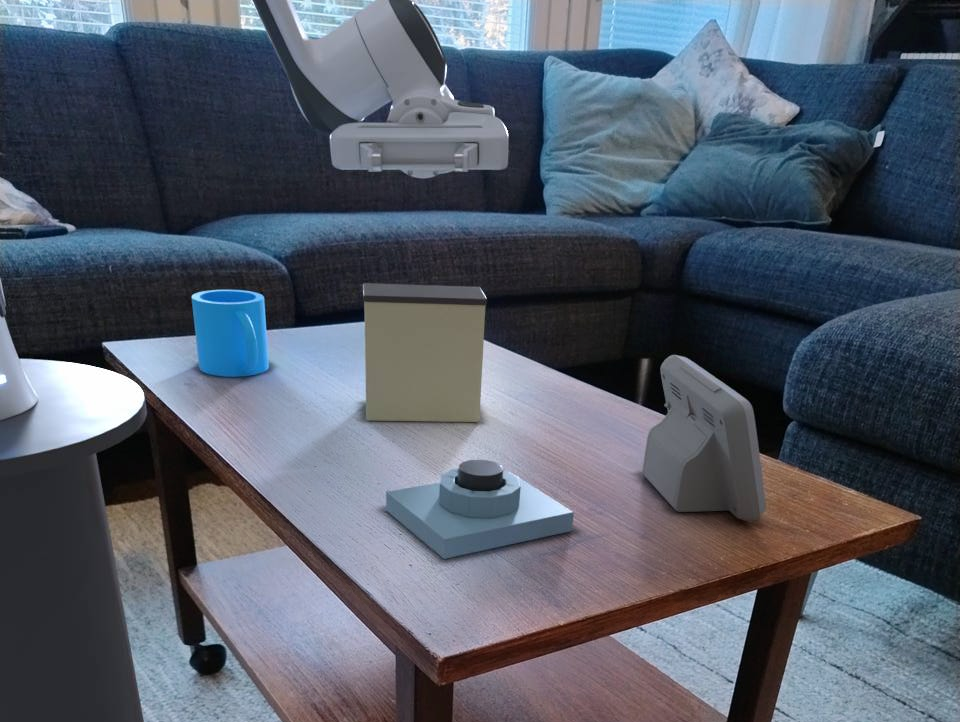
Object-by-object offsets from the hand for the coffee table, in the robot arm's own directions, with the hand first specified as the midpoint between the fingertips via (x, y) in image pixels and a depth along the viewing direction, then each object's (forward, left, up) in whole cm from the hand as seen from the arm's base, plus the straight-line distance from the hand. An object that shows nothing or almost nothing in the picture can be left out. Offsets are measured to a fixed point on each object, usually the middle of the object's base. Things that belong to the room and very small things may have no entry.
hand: (417, 163), depth 98 cm
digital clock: (+7, -43, -23) cm, 49 cm away
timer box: (-15, -40, -23) cm, 48 cm away
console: (-6, -13, -23) cm, 27 cm away
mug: (-19, +9, -23) cm, 31 cm away
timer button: (-15, -40, -20) cm, 47 cm away
